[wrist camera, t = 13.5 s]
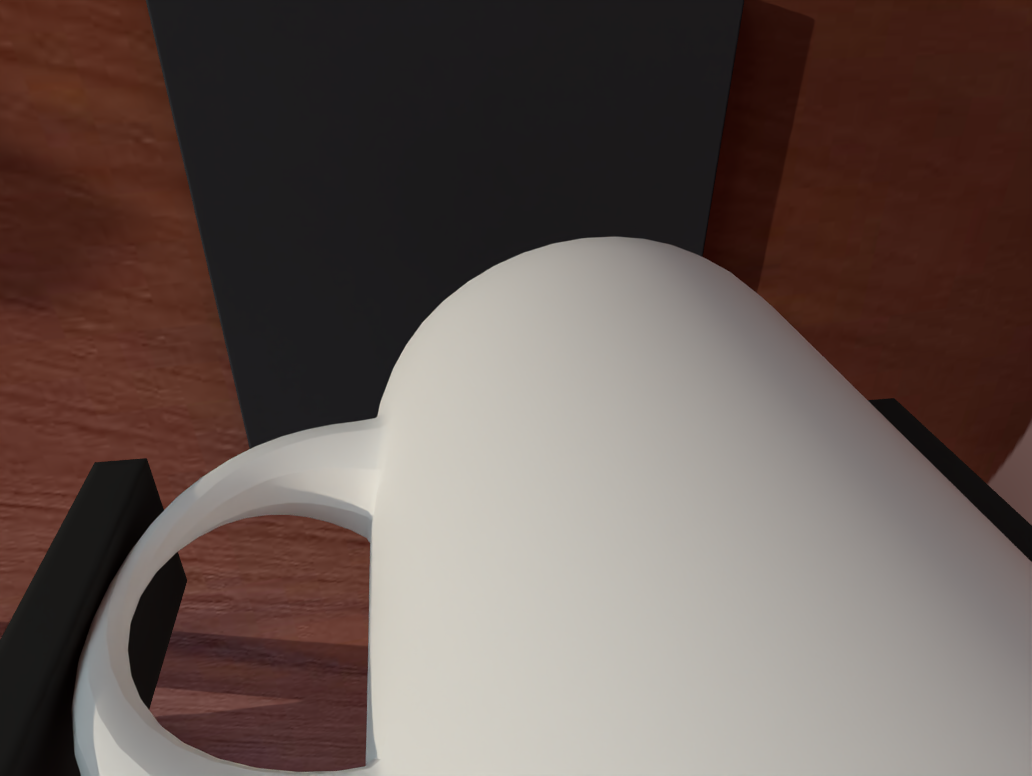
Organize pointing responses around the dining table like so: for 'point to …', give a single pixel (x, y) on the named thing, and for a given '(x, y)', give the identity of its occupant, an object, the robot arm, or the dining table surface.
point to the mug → (624, 550)
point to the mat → (422, 163)
